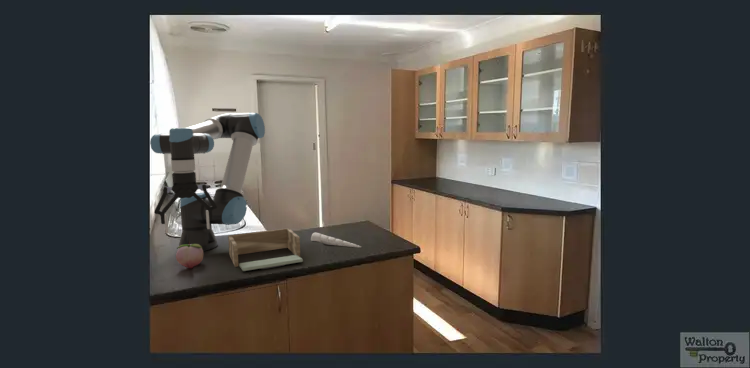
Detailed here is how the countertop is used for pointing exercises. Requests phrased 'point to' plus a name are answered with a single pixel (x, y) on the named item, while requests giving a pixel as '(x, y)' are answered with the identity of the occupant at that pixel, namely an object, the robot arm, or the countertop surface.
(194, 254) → the decorative fruit
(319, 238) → the unicorn horn
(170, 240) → the countertop surface
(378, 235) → the countertop surface
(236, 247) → the box
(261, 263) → the pale green panel
